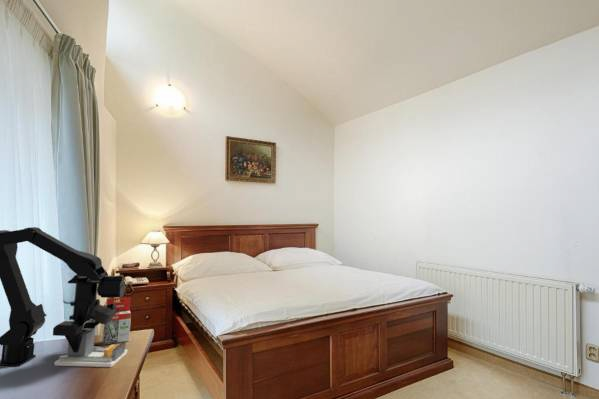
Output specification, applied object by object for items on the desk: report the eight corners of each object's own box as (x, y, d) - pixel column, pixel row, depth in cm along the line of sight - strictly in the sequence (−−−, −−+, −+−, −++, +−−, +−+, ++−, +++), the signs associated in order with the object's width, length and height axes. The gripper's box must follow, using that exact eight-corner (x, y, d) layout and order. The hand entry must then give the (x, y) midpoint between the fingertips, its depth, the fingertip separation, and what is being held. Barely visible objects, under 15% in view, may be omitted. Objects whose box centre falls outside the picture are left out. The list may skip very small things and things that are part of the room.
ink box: (129, 341, 113) (132, 299, 114) (102, 345, 109) (106, 301, 110) (128, 337, 116) (131, 296, 117) (102, 341, 112) (106, 298, 113)
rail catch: (103, 358, 97) (104, 350, 97) (111, 352, 101) (111, 344, 101) (107, 358, 97) (108, 350, 97) (114, 352, 101) (115, 344, 101)
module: (67, 357, 96) (69, 333, 96) (76, 350, 100) (78, 328, 101) (84, 357, 96) (86, 333, 97) (93, 351, 101) (95, 328, 101)
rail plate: (54, 365, 93) (55, 351, 93) (76, 351, 103) (77, 338, 103) (111, 367, 94) (112, 353, 94) (127, 352, 104) (128, 340, 104)
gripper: (95, 307, 91) (90, 363, 90) (126, 291, 109) (122, 338, 108) (54, 305, 90) (48, 362, 89) (92, 290, 108) (88, 337, 108)
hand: (80, 349), depth 98 cm, fingers closed on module, 4 cm apart
